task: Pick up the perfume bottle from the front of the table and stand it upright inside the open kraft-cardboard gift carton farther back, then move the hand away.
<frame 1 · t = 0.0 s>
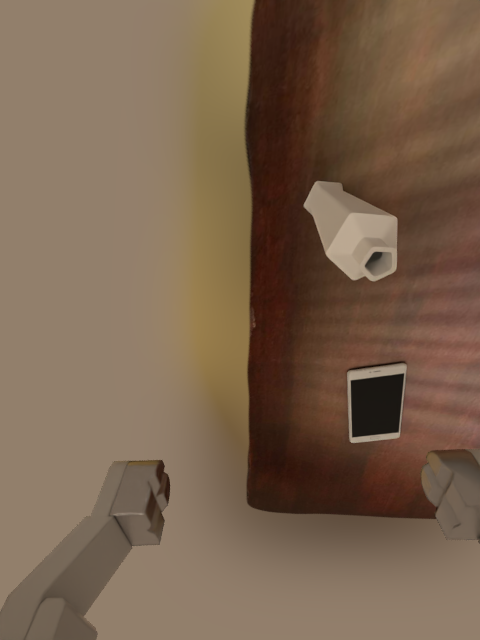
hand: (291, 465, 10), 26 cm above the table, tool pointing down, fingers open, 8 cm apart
perfume bottle: (324, 202, 31), on the table
smartphone: (374, 403, 46), on the table
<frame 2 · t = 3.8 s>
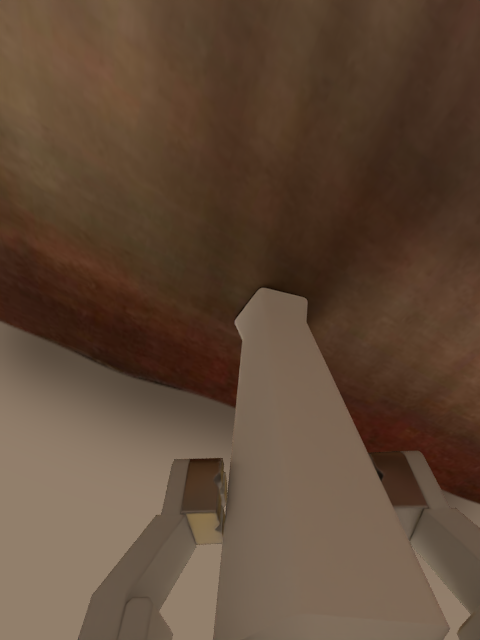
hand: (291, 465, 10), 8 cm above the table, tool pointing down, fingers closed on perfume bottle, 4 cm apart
perfume bottle: (276, 319, 17), on the table, touching gripper
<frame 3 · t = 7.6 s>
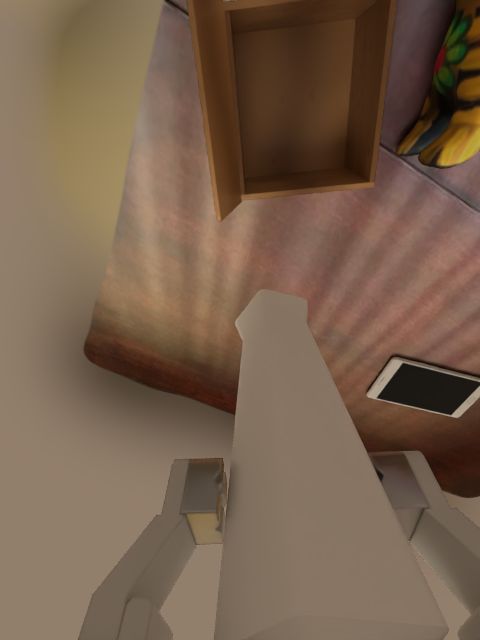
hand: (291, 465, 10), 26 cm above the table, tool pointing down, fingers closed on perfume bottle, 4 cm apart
carton flap: (219, 117, 19), point 10 cm above the table, hinge at 105.0°
perfume bottle: (276, 321, 17), point 18 cm above the table, touching gripper
carton: (293, 107, 27), on the table
smartphone: (425, 386, 44), on the table
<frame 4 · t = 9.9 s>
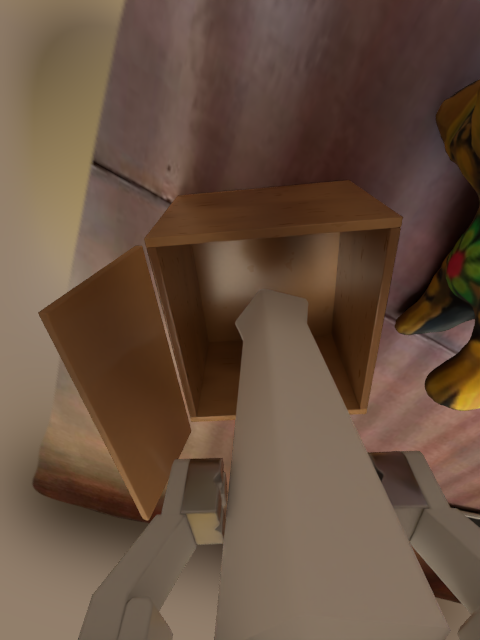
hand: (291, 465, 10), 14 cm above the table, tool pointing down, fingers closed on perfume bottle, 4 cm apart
carton flap: (142, 393, 13), point 10 cm above the table, hinge at 105.0°
perfume bottle: (276, 321, 17), point 5 cm above the table, touching gripper
carton: (266, 273, 21), on the table
when the fingers open (8 cm above the table, at t = 11.7 s): perfume bottle stays where it is, resting on carton.
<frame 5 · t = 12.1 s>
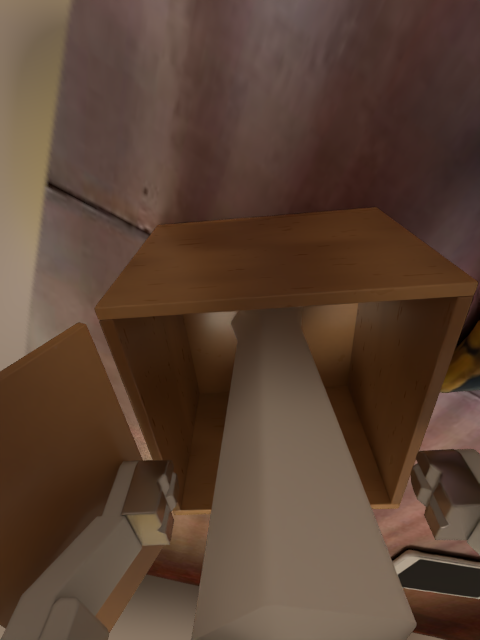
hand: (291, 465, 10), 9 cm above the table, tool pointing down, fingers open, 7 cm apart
carton flap: (80, 521, 9), point 10 cm above the table, hinge at 117.1°, touching gripper
perfume bottle: (271, 322, 17), resting on carton
carton: (269, 317, 17), on the table
smartphone: (446, 570, 35), on the table
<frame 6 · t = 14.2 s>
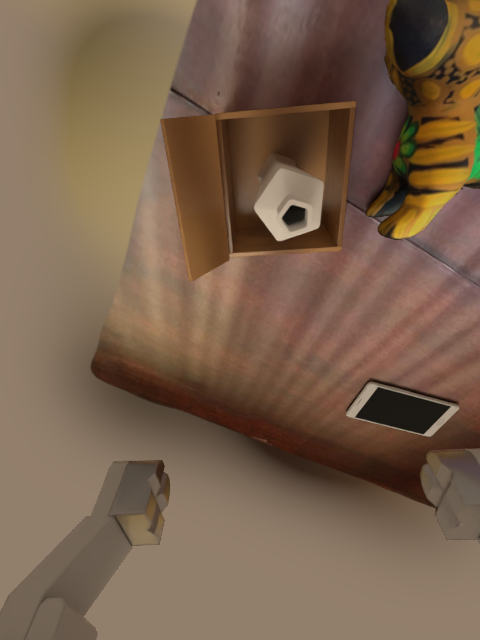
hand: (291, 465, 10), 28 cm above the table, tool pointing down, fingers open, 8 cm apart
carton flap: (201, 202, 24), point 10 cm above the table, hinge at 124.9°
perfume bottle: (279, 176, 31), resting on carton
carton: (278, 173, 31), on the table
smartphone: (399, 407, 49), on the table
multicolored animal figure: (456, 123, 29), on the table
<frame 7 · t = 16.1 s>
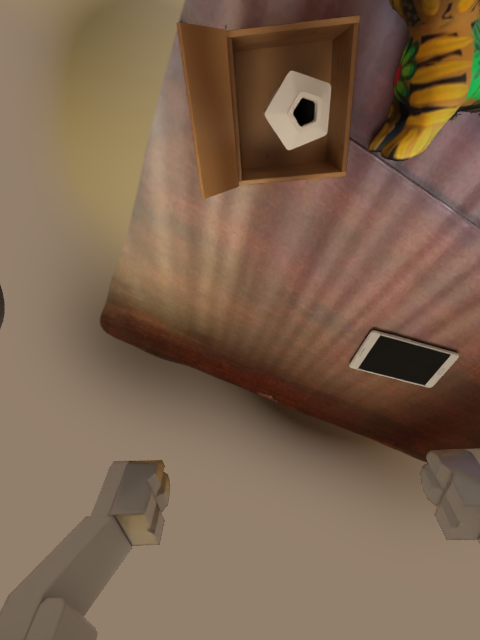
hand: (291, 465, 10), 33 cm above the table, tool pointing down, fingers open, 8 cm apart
carton flap: (213, 119, 25), point 10 cm above the table, hinge at 124.9°
perfume bottle: (284, 112, 33), resting on carton
carton: (283, 110, 33), on the table
smartphone: (401, 358, 50), on the table
multicolored animal figure: (453, 55, 30), on the table
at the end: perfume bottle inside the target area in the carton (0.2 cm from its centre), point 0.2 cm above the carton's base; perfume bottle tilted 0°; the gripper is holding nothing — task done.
